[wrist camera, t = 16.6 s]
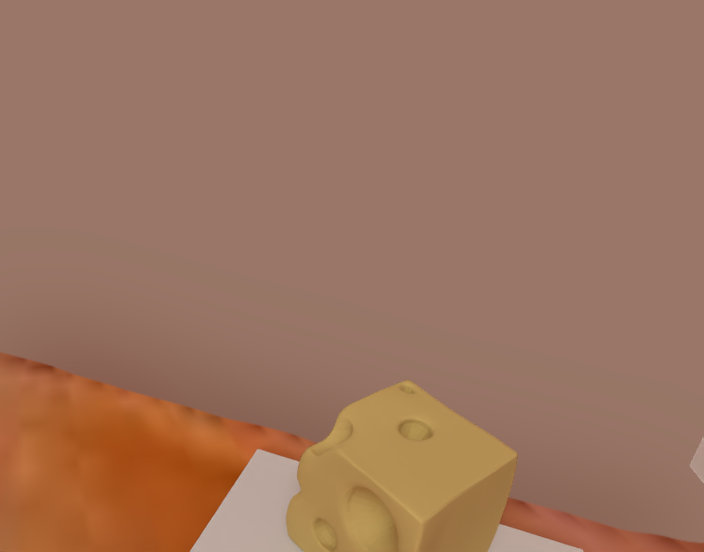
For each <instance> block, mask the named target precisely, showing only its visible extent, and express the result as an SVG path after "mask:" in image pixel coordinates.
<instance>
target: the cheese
mask: <svg viewBox="0 0 704 552" xmlns="http://www.w3.org/2000/svg"><path fill="white" fill-rule="evenodd" d="M517 458H518V454H517V453H516V452H515V451H514V450H512V449H511V448H510V447H508V446H507V445H506V444H504V443H503V442H501V441H500V440H498V439H497V438H495V437H494V436H492V435H491V434H489V433H488V432H486V431H484V430H483V429H481V428H480V427H478V426H476V425H475V424H473V423H471V422H470V421H468V420H466V419H465V418H463V417H462V416H460V415H458V414H457V413H455V412H454V411H452V410H451V409H450V408H448V407H447V406H445V405H444V404H442V403H441V402H439V401H438V400H436V399H435V398H434V397H432V396H431V395H430V394H428V393H427V392H425V391H424V390H423V389H421V388H420V387H419V386H417V385H416V384H415V383H413V382H412V381H410V380H405V381H403V382H400V383H398V384H395V385H393V386H390V387H388V388H385V389H382V390H380V391H378V392H376V393H373V394H371V395H369V396H367V397H365V398H363V399H361V400H359V401H357V402H354V403H352V404H350V405H348V406H347V407H346V408H344V409H343V410H342V411H341V412H340V414H339V416H338V418H337V420H336V423H335V426H334V428H333V429H332V431H331V433H330V434H329V435H328V437H326V438H325V439H324V440H323V441H321V442H320V443H318V444H315V445H313V446H310V447H308V448H307V449H306V450H305V452H304V453H303V454H302V456H301V459H300V462H299V466H298V471H297V479H298V481H299V485H300V488H301V491H300V492H299V493H297V494H296V495H294V496H293V498H292V499H291V500H290V503H289V505H288V509H287V514H286V526H287V532H288V535H289V537H290V538H291V540H292V541H293V542H294V543H295V544H296V545H297V546H298V547H300V548H301V549H302V550H303V551H304V552H488V550H489V548H490V545H491V543H492V541H493V539H494V536H495V534H496V531H497V529H498V526H499V523H500V520H501V517H502V514H503V511H504V508H505V505H506V502H507V499H508V496H509V493H510V490H511V487H512V483H513V479H514V474H515V469H516V464H517Z"/></svg>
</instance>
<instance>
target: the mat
mask: <svg viewBox="0 0 704 552" xmlns="http://www.w3.org/2000/svg"><path fill="white" fill-rule="evenodd" d="M298 466H299V461H295V460H292V459H289V458H286V457H282V456H279V455H276V454H273V453H270V452H266V451H263V450H260V449H257V451H256V452H255V454H254V455H253V457H252V458H251V460H250V461H249V463H248V464H247V466H246V467H245V469H244V470H243V472H242V473H241V475H240V476H239V478H238V479H237V481H236V482H235V484H234V485H233V487H232V488H231V490H230V492H229V493H228V495H227V496H226V498H225V499H224V501H223V502H222V504H221V505H220V507H219V508H218V510H217V511H216V513H215V514H214V516H213V517H212V519H211V520H210V522H209V523H208V525H207V526H206V528H205V529H204V531H203V532H202V534H201V535H200V537H199V538H198V540H197V542H196V543H195V545H194V546H193V548H192V549H191V551H190V552H304V551H303V550H302V549H301V548H300V547H298V546H297V545H296V544H295V543H294V542H293V541H292V540H291V538H290V537H289V535H288V532H287V526H286V514H287V509H288V505H289V503H290V500H291V499H292V498H293V496H294V495H296V494H297V493H299V492H300V491H301V488H300V485H299V481H298V479H297V471H298ZM488 552H583V550H582V549H579V548H576V547H572V546H569V545H566V544H563V543H559V542H556V541H553V540H550V539H547V538H543V537H540V536H537V535H534V534H530V533H527V532H524V531H521V530H518V529H514V528H511V527H508V526H505V525H501V524H499V526H498V529H497V531H496V534H495V536H494V539H493V541H492V543H491V545H490V548H489V550H488Z"/></svg>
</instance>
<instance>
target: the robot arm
mask: <svg viewBox="0 0 704 552" xmlns="http://www.w3.org/2000/svg"><path fill="white" fill-rule="evenodd" d="M690 467H691V468H692V470H693V471H694V472H695V473H696V475H697V476H698V477H699V478H700V479H701V481H702V482H703V483H704V436H703V438H702V441H701V443H700V445H699V447H698V449H697V451H696V453H695V455H694V457H693V459H692V461H691V463H690Z"/></svg>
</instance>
